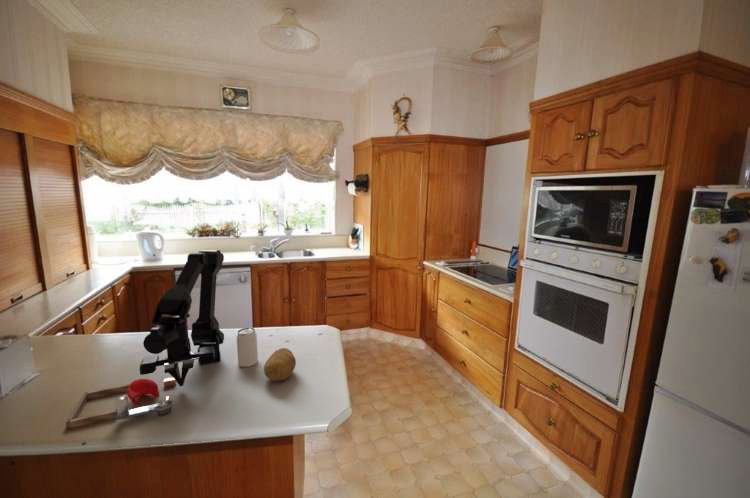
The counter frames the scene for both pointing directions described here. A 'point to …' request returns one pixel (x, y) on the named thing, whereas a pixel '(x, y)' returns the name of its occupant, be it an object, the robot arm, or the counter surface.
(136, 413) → the crank
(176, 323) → the robot arm
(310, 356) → the counter surface
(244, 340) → the can
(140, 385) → the cap
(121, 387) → the bay
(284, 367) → the potato
